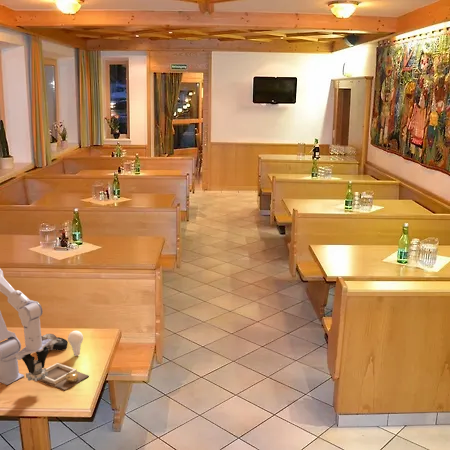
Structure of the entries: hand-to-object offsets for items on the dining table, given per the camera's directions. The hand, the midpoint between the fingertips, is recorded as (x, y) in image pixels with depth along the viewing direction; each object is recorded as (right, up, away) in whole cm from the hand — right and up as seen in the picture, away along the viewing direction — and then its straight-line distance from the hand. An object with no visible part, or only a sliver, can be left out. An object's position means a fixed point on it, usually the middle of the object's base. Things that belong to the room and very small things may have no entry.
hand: (36, 369), depth 210 cm
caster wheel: (-4, 0, +36) cm, 36 cm away
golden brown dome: (+11, -7, +8) cm, 15 cm away
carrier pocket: (+4, -5, +13) cm, 14 cm away
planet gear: (0, -3, +1) cm, 3 cm away
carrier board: (+6, -6, +11) cm, 14 cm away
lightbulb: (+7, -2, +29) cm, 30 cm away
